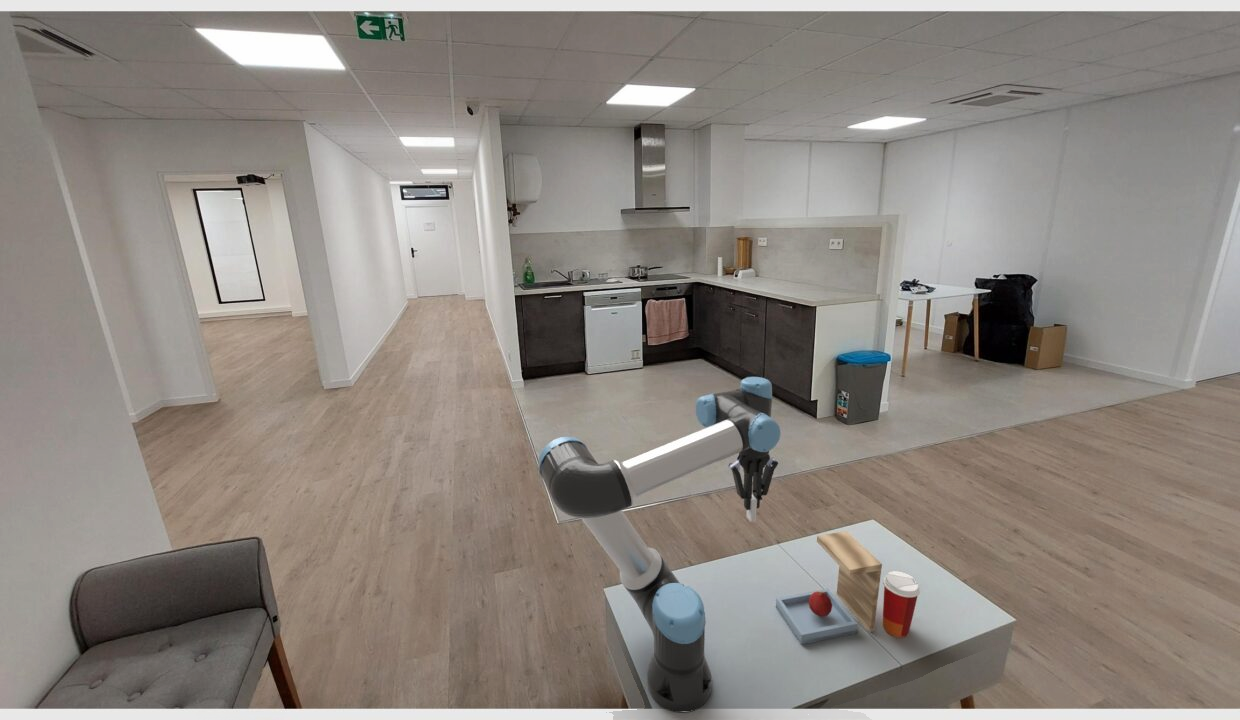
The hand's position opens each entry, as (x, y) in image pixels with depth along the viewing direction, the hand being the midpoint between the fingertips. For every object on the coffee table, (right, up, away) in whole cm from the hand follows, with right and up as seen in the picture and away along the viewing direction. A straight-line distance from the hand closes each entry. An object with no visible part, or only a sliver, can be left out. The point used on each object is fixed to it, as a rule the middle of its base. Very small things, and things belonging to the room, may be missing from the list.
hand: (751, 518), depth 129 cm
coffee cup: (+37, -29, -1) cm, 47 cm away
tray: (+18, -28, +2) cm, 33 cm away
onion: (+19, -27, +2) cm, 33 cm away
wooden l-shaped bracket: (+26, -27, +4) cm, 38 cm away
